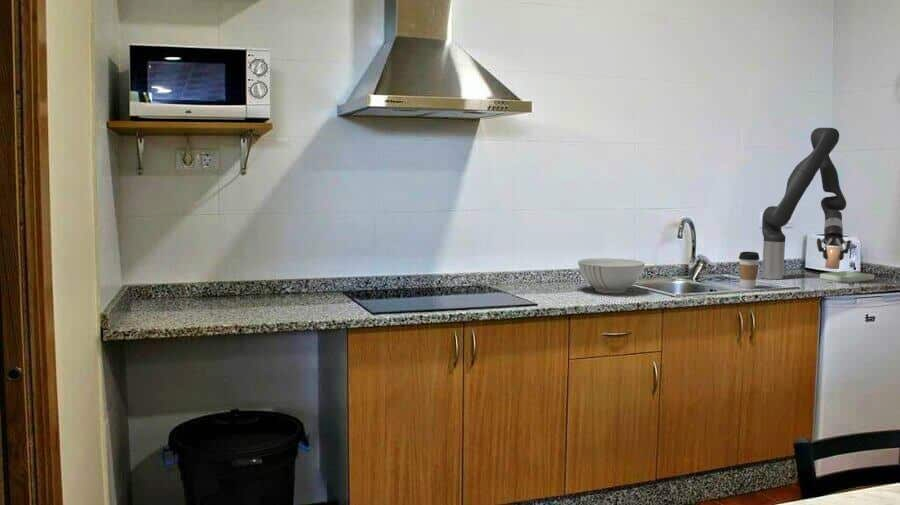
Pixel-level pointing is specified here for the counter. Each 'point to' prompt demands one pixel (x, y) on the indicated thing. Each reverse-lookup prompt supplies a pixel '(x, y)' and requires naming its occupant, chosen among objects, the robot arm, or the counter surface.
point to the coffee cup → (748, 269)
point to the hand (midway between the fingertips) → (833, 258)
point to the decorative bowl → (611, 273)
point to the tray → (847, 276)
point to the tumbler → (833, 257)
